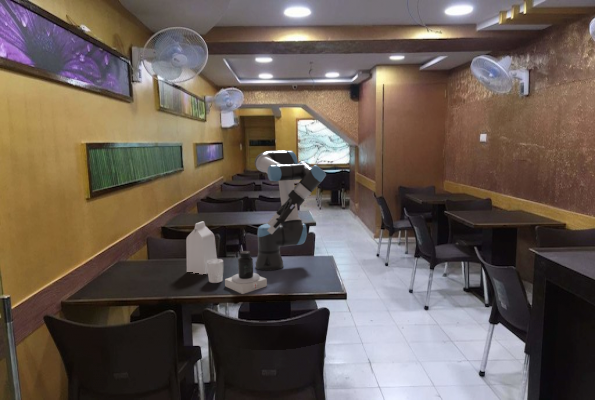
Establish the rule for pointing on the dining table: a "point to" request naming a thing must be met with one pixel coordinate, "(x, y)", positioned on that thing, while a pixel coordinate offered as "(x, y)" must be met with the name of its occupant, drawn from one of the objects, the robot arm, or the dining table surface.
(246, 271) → the supplement bottle
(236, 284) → the dial scale
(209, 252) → the milk
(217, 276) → the white cup
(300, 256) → the dining table surface
